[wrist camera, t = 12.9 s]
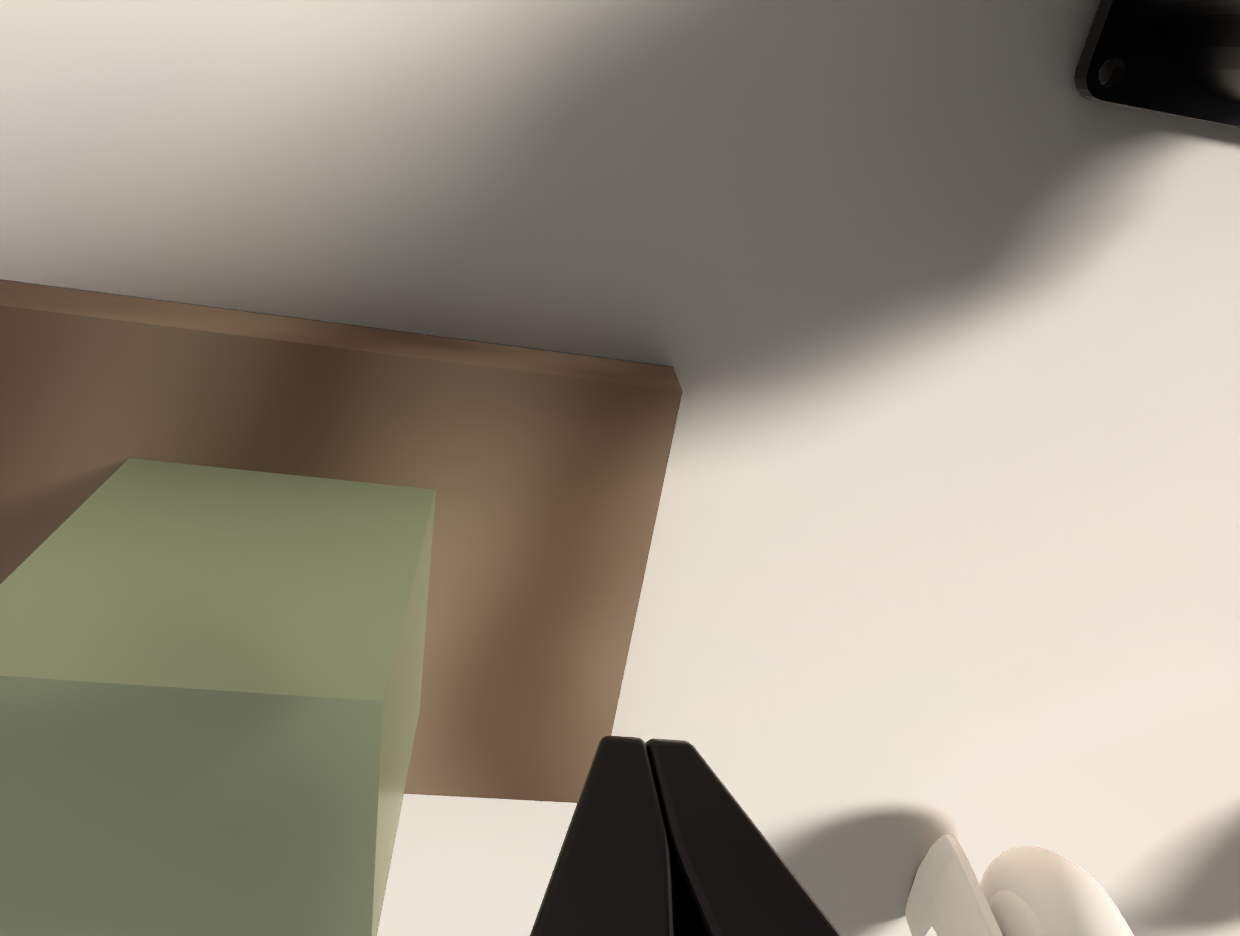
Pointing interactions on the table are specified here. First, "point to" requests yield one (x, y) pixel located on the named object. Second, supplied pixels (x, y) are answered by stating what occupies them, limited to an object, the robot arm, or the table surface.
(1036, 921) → the headset
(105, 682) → the sage green cube
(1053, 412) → the table surface
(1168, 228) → the table surface
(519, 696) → the brown rectangular block
